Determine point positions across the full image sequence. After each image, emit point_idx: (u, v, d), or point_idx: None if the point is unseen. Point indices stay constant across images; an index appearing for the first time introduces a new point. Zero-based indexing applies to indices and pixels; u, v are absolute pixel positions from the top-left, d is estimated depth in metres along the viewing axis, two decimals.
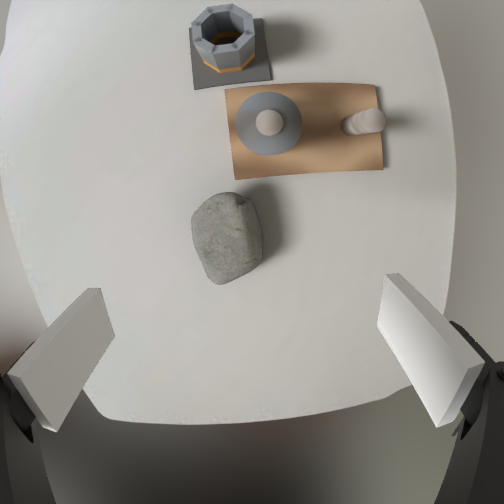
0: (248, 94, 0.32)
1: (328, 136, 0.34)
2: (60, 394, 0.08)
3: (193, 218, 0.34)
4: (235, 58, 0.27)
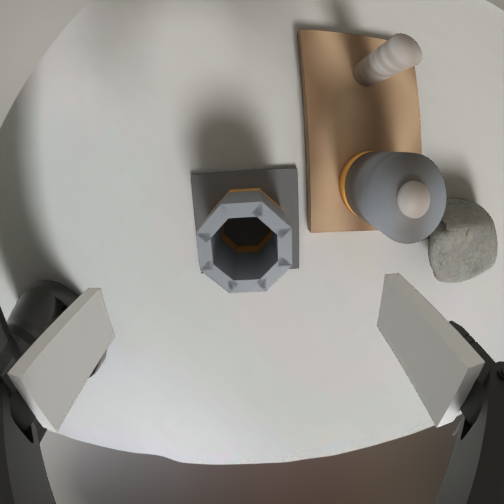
0: (322, 202, 0.26)
1: (380, 104, 0.23)
2: (60, 394, 0.08)
3: (442, 280, 0.25)
4: None
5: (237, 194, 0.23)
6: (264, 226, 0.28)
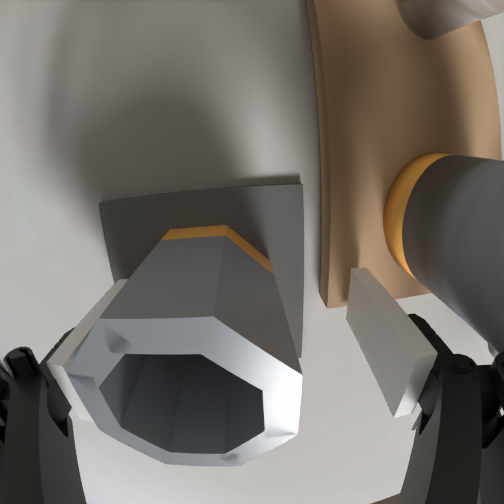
0: (351, 252, 0.13)
1: (447, 71, 0.10)
2: None
3: None
4: None
5: (170, 253, 0.10)
6: None
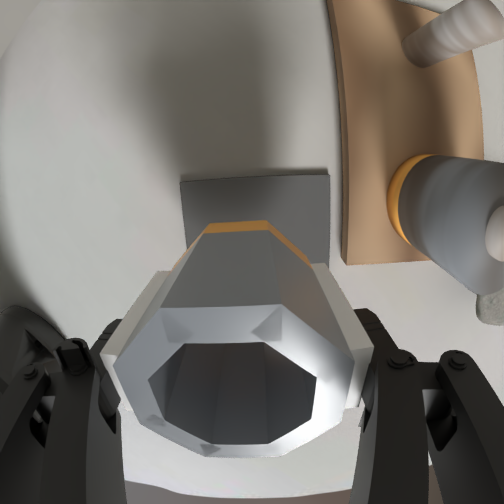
0: (363, 223, 0.18)
1: (437, 92, 0.14)
2: None
3: (486, 321, 0.17)
4: None
5: (218, 246, 0.10)
6: None
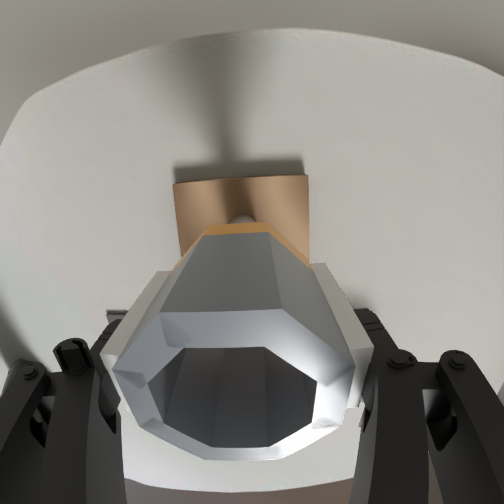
0: None
1: None
2: None
3: None
4: None
5: (218, 248, 0.10)
6: None
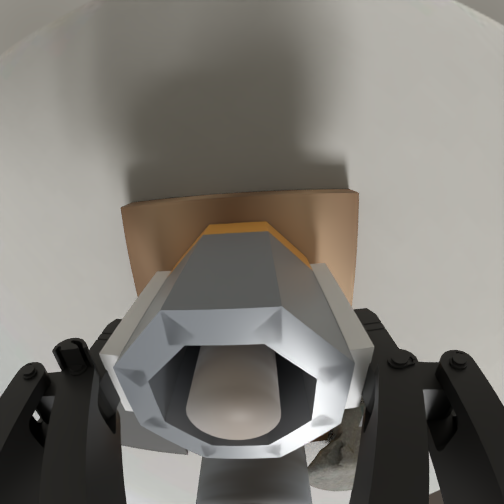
0: None
1: None
2: None
3: (315, 487, 0.18)
4: None
5: (218, 248, 0.10)
6: (142, 427, 0.21)
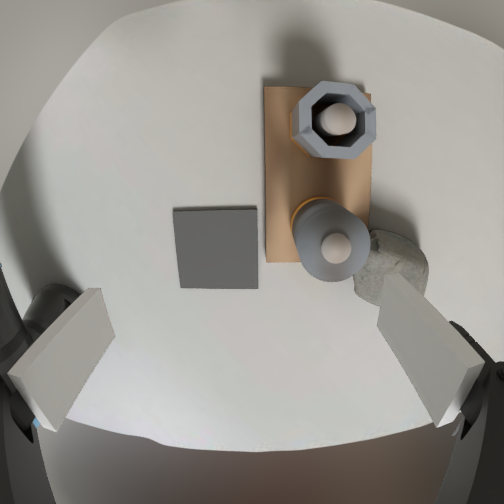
0: (275, 238, 0.33)
1: None
2: (60, 394, 0.08)
3: (359, 294, 0.31)
4: None
5: None
6: (229, 254, 0.35)
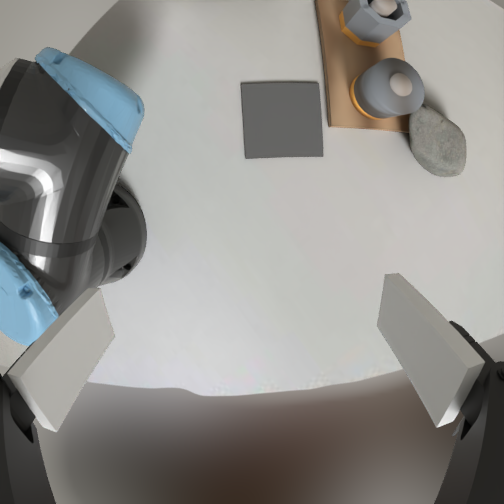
0: (338, 104, 0.32)
1: None
2: (60, 394, 0.08)
3: (416, 147, 0.30)
4: None
5: None
6: (296, 122, 0.33)
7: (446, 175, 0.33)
